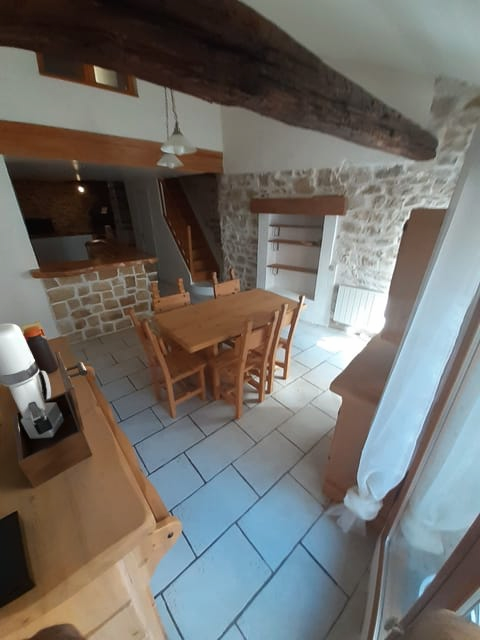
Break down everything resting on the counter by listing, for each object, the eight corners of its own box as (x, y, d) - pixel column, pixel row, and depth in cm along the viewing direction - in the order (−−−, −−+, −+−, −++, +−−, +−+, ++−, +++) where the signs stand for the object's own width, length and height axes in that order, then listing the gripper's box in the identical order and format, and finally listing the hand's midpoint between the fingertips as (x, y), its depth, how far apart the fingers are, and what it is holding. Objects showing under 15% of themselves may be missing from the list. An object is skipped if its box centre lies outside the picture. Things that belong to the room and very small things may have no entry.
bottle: (60, 363, 111) (44, 323, 102) (56, 373, 105) (39, 331, 96) (41, 367, 109) (23, 326, 100) (37, 376, 103) (17, 334, 94)
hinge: (26, 390, 96) (28, 366, 94) (42, 387, 99) (43, 365, 97) (32, 415, 85) (34, 390, 83) (49, 412, 88) (52, 387, 86)
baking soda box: (54, 359, 114) (42, 328, 107) (36, 364, 110) (22, 333, 103) (51, 350, 120) (39, 320, 113) (34, 355, 117) (20, 325, 109)
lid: (69, 387, 62) (94, 379, 65) (54, 351, 76) (75, 346, 79) (80, 431, 68) (102, 421, 71) (65, 390, 82) (84, 384, 85)
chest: (33, 488, 65) (18, 464, 60) (25, 435, 78) (13, 412, 74) (92, 455, 73) (83, 431, 68) (76, 412, 87) (67, 391, 82)
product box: (52, 438, 69) (43, 419, 66) (29, 439, 69) (19, 420, 66) (64, 420, 75) (56, 402, 72) (43, 421, 75) (34, 403, 71)
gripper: (-2, 361, 66) (23, 409, 74) (0, 398, 54) (30, 450, 62) (33, 351, 70) (54, 397, 78) (41, 382, 59) (65, 433, 67)
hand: (43, 420), depth 70 cm, fingers closed on product box, 8 cm apart
